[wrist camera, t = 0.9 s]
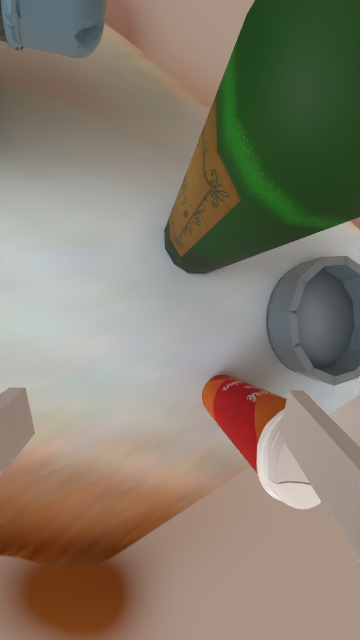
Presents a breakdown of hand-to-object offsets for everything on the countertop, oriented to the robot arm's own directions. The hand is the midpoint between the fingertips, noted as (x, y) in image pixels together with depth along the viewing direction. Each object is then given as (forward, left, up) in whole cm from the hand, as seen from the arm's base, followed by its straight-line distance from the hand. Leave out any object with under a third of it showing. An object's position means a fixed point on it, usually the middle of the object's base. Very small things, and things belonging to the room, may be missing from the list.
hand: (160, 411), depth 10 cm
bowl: (-1, +29, -15) cm, 32 cm away
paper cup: (+7, +11, -15) cm, 20 cm away
